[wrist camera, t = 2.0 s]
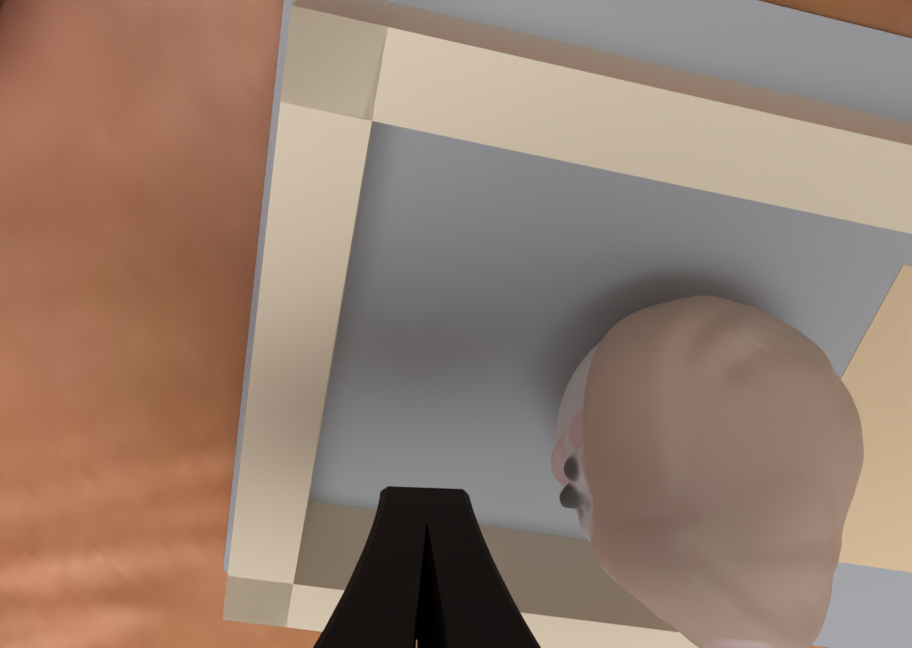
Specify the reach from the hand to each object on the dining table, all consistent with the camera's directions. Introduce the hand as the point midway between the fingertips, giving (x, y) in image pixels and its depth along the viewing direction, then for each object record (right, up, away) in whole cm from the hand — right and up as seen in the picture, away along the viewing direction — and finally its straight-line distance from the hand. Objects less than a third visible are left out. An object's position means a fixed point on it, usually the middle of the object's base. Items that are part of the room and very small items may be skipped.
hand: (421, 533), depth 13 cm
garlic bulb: (+6, +2, +6) cm, 9 cm away
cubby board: (+7, +2, +7) cm, 10 cm away
